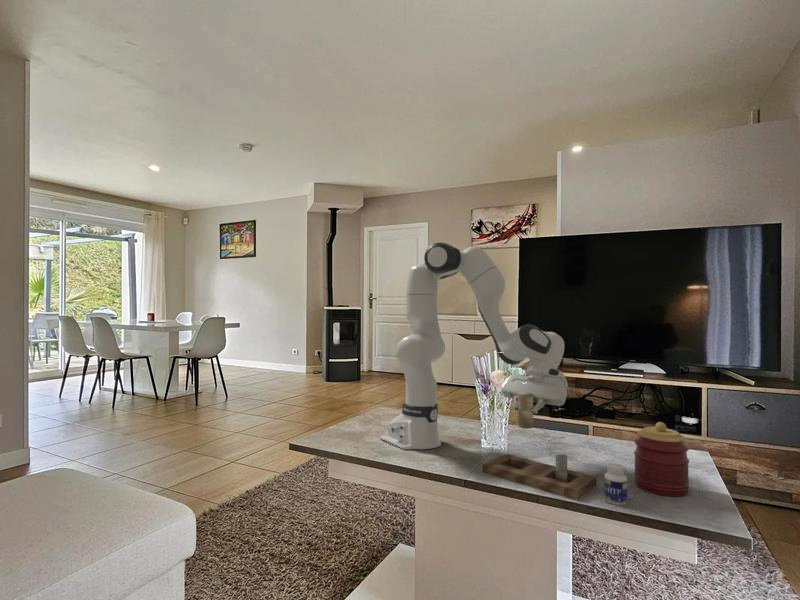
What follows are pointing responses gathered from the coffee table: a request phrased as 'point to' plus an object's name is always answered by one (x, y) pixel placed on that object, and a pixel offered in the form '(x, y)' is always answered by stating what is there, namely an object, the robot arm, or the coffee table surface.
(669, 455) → the canister
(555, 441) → the scissors
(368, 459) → the coffee table surface
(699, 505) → the coffee table surface
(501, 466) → the wooden peg holder
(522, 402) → the wooden peg
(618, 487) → the pill bottle
